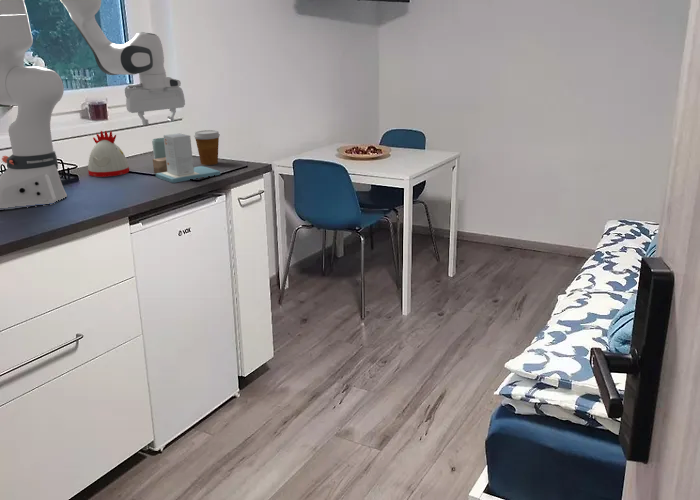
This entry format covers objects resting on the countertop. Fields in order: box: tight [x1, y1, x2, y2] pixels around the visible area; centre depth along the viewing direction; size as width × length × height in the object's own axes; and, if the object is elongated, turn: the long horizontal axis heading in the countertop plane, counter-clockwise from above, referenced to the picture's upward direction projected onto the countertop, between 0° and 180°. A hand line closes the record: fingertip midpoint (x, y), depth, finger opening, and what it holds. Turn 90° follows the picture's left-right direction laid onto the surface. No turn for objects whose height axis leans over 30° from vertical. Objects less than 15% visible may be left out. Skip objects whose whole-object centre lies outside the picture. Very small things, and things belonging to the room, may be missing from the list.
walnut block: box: [152, 157, 167, 174], centre depth 227 cm, size 5×5×5 cm
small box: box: [163, 133, 195, 176], centre depth 218 cm, size 8×6×13 cm
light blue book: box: [155, 165, 221, 184], centre depth 222 cm, size 18×13×1 cm
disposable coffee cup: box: [193, 129, 221, 166], centre depth 240 cm, size 10×10×12 cm
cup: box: [151, 137, 166, 159], centre depth 237 cm, size 8×8×10 cm
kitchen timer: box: [87, 130, 130, 178], centre depth 227 cm, size 14×14×15 cm
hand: (158, 123), depth 222 cm, fingers open, 8 cm apart
